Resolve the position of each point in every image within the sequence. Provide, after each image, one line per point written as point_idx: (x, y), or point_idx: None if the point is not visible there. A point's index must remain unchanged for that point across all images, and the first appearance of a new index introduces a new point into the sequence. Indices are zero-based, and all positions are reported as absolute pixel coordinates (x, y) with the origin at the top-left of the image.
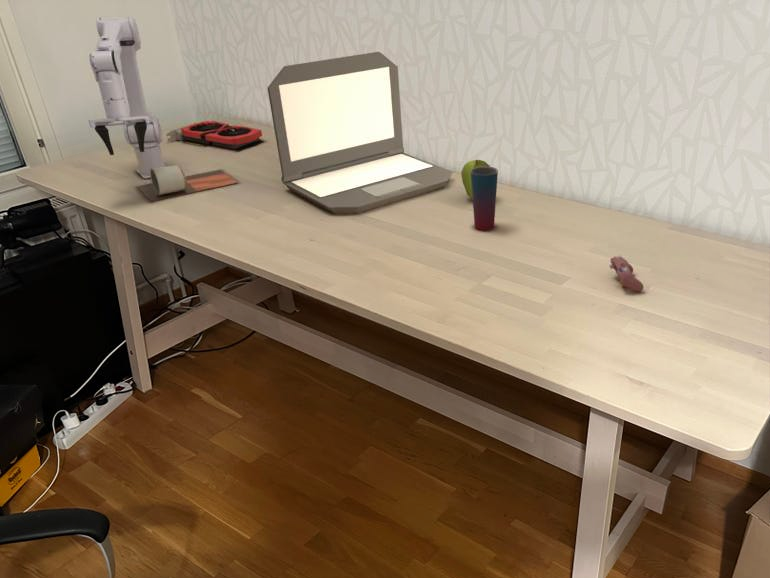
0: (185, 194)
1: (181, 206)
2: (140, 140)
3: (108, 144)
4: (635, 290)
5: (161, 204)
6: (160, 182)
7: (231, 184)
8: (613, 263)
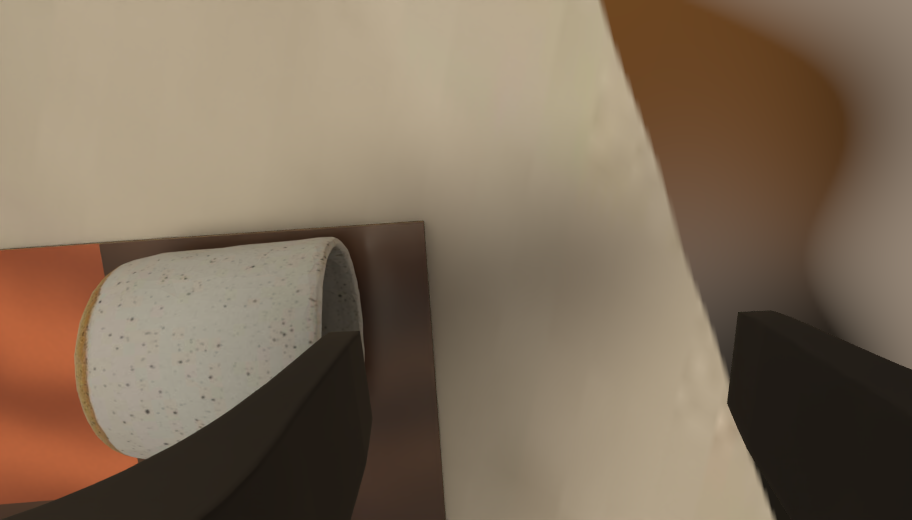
0: (188, 237)
1: (255, 4)
2: (300, 402)
3: (884, 363)
4: None
5: (373, 131)
6: (310, 243)
7: None
8: None
